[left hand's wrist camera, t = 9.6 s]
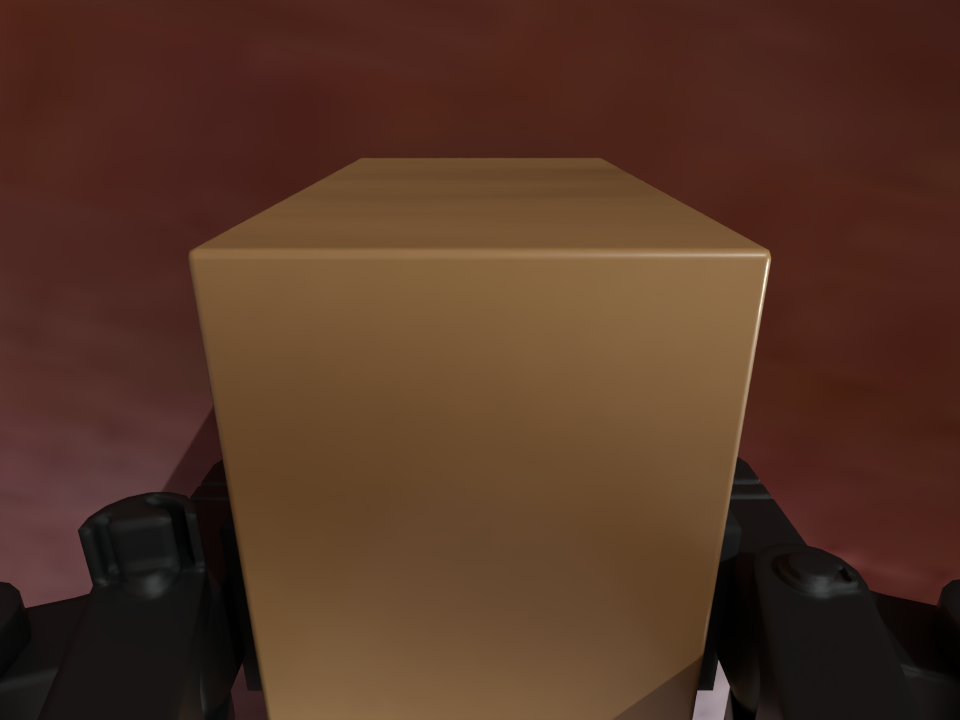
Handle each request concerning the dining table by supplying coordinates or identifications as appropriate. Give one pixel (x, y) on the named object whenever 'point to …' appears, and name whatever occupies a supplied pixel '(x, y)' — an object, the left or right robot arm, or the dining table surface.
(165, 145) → the dining table surface
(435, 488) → the bar
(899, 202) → the dining table surface
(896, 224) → the dining table surface
